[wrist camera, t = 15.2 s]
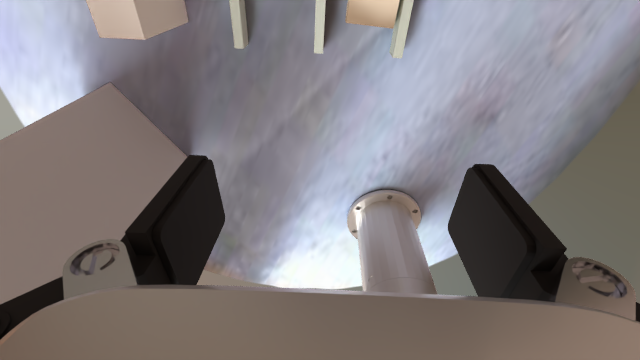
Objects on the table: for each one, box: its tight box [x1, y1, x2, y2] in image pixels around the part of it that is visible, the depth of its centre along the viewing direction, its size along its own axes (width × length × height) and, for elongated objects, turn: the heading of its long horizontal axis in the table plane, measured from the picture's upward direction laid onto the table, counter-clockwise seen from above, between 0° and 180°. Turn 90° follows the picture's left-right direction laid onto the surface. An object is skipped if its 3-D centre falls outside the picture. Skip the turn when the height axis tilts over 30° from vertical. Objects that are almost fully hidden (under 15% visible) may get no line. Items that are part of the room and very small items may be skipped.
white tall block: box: [0, 83, 187, 304], centre depth 30 cm, size 14×6×30 cm, turn 32°
